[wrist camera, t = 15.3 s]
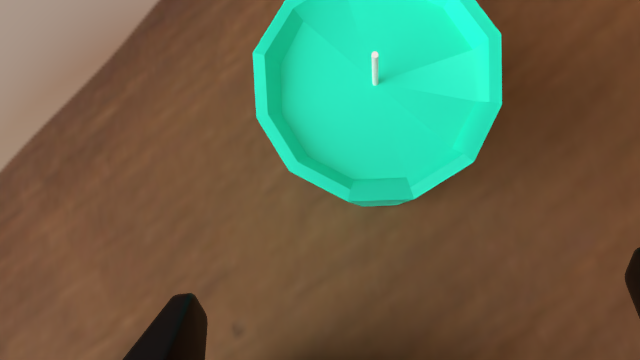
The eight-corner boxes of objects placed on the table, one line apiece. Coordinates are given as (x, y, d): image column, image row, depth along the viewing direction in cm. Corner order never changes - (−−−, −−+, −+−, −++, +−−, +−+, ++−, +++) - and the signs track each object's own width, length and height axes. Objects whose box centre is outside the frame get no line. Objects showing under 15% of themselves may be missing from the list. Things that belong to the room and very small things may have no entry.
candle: (300, 192, 21) (202, 168, 9) (327, 70, 22) (266, -106, 10) (427, 221, 20) (496, 234, 9) (454, 93, 21) (558, -67, 9)
